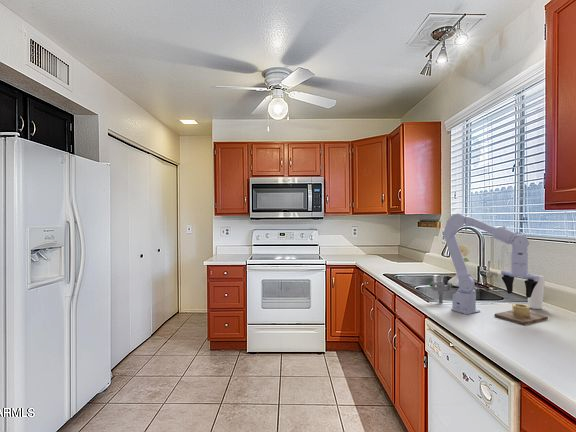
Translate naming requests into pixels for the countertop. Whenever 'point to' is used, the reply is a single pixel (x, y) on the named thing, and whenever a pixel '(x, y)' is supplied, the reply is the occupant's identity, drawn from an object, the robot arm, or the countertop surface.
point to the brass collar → (521, 310)
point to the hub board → (521, 320)
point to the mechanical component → (440, 289)
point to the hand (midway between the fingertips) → (519, 295)
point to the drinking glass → (537, 294)
